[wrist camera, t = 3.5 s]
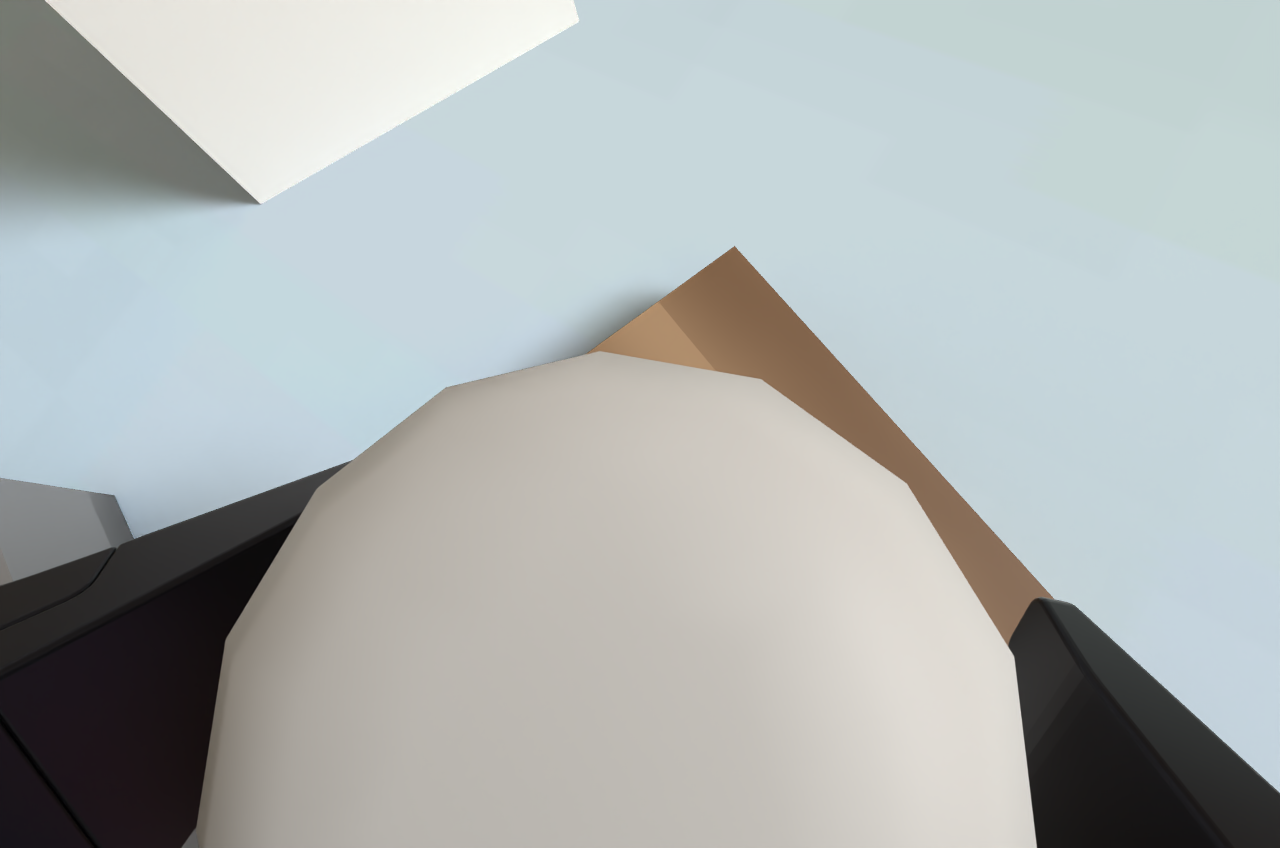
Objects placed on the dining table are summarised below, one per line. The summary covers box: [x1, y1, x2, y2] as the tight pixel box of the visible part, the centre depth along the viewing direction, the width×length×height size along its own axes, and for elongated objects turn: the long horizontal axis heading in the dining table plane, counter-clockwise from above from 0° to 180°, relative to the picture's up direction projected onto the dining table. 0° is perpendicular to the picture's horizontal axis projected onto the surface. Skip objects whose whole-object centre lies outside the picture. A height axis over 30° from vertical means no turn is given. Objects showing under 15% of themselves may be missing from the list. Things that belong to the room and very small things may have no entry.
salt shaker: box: [196, 351, 1037, 848], centre depth 9 cm, size 6×6×13 cm
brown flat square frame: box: [585, 246, 1054, 646], centre depth 14 cm, size 12×12×2 cm
